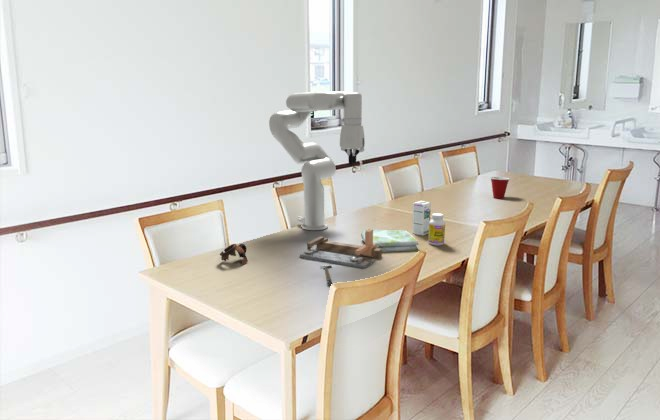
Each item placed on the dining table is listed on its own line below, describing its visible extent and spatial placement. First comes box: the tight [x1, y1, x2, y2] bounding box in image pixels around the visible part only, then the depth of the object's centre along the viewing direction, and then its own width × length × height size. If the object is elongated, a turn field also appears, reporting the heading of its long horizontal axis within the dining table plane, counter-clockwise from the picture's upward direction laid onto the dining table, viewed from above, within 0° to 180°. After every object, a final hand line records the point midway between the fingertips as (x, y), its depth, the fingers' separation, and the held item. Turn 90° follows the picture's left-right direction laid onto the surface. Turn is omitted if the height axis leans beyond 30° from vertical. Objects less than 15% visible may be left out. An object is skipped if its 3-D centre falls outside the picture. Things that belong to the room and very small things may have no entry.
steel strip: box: [299, 248, 374, 269], centre depth 226 cm, size 28×8×2 cm, turn 62°
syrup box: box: [412, 200, 432, 236], centre depth 260 cm, size 6×6×14 cm
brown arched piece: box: [219, 243, 249, 266], centre depth 224 cm, size 12×10×8 cm
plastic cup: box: [490, 176, 510, 200], centre depth 332 cm, size 11×11×12 cm
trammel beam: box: [306, 236, 383, 259], centre depth 231 cm, size 28×14×5 cm, turn 62°
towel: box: [360, 229, 419, 253], centre depth 245 cm, size 18×21×5 cm
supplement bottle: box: [428, 212, 446, 246], centre depth 245 cm, size 7×7×13 cm
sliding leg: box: [354, 228, 376, 258], centre depth 226 cm, size 4×14×10 cm, turn 152°
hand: (352, 164), depth 251 cm, fingers closed
